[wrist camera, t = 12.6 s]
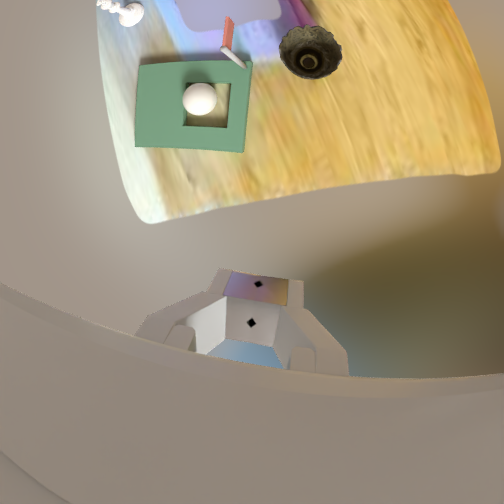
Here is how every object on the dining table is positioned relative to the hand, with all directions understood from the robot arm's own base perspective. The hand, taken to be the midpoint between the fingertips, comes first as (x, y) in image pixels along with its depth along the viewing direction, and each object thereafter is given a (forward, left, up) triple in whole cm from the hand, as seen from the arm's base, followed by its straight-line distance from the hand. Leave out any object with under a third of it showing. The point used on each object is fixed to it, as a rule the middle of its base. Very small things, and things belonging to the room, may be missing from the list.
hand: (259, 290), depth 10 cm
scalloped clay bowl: (-15, +1, -34) cm, 37 cm away
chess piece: (-25, -29, -34) cm, 51 cm away
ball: (-8, -14, -32) cm, 35 cm away
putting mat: (-8, -16, -34) cm, 39 cm away
